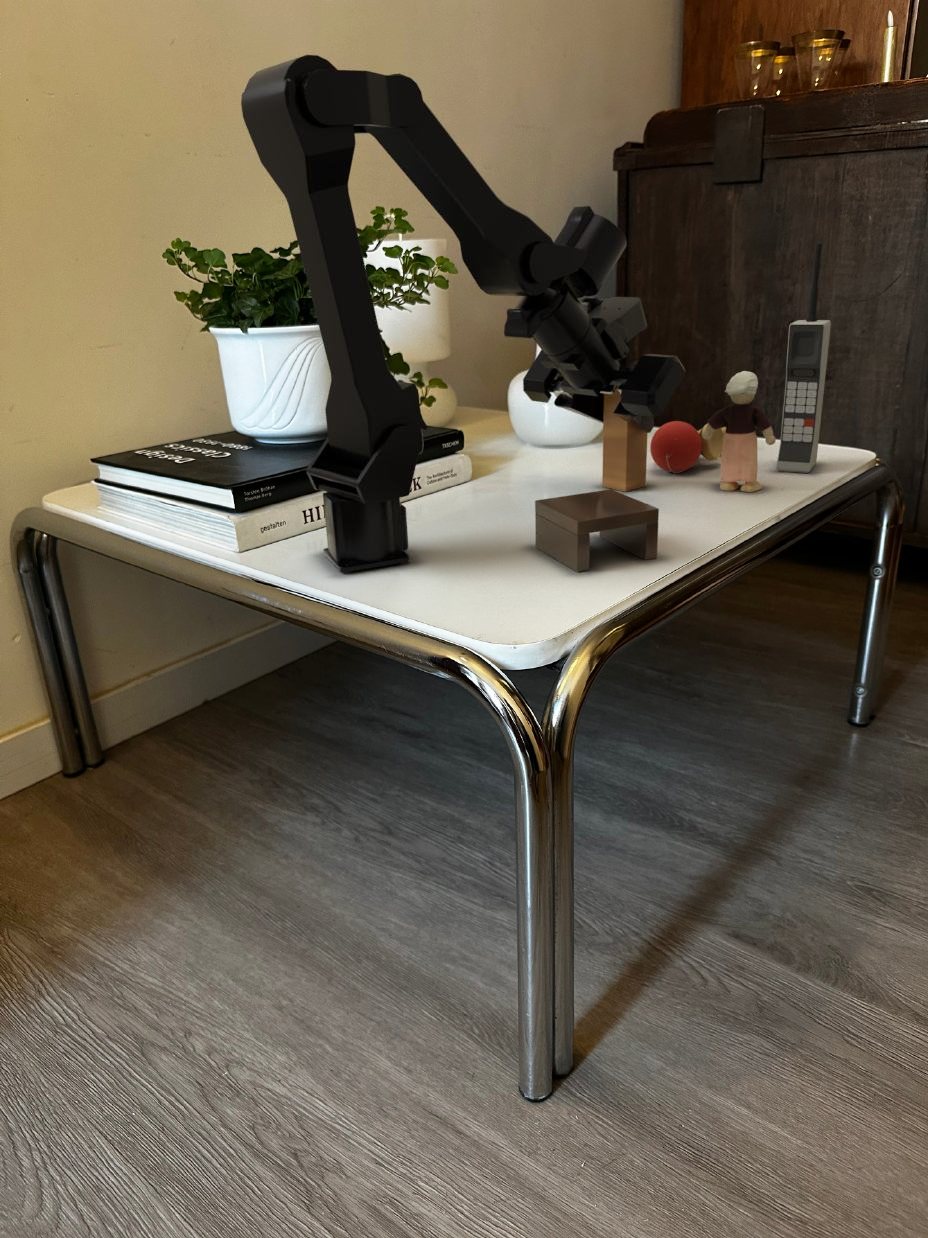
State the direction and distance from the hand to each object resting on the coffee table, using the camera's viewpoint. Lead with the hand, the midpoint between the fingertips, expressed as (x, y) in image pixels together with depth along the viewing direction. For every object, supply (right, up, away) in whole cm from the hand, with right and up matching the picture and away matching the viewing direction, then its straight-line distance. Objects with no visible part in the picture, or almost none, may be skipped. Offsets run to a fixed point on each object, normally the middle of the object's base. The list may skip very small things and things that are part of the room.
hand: (633, 426), depth 104 cm
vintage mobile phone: (+21, -4, +7) cm, 22 cm away
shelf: (-7, -16, -20) cm, 27 cm away
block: (-1, -6, +2) cm, 7 cm away
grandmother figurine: (+11, -7, -1) cm, 13 cm away
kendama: (+10, -2, +12) cm, 15 cm away
